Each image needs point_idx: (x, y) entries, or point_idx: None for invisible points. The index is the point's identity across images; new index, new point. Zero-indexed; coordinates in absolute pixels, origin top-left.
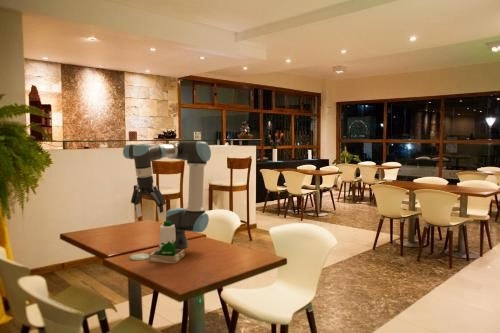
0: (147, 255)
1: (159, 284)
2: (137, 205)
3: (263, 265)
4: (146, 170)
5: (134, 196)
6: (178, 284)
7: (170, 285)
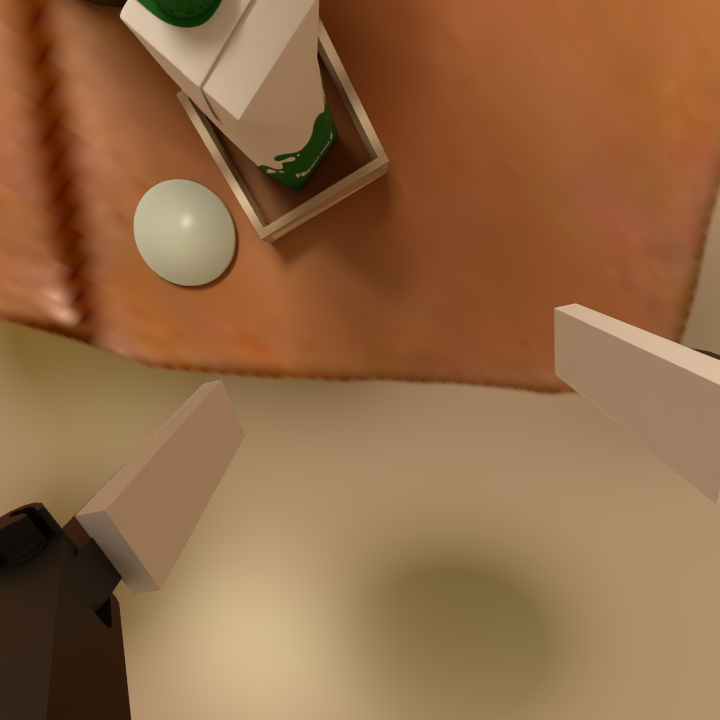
0: (193, 197)
1: (534, 389)
2: (158, 559)
3: None
4: None
5: None
6: None
7: None
